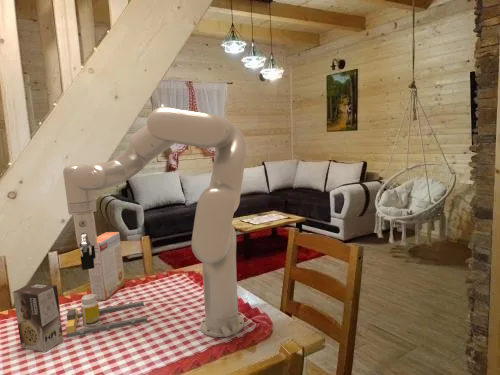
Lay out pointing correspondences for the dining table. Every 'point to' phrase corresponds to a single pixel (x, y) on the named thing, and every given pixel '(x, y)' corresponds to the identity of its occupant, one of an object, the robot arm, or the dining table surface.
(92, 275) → the cracker box
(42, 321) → the coffee box
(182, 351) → the dining table surface
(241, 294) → the dining table surface
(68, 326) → the long yellow crossbar
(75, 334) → the gray parallel rail frame
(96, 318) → the supplement bottle
